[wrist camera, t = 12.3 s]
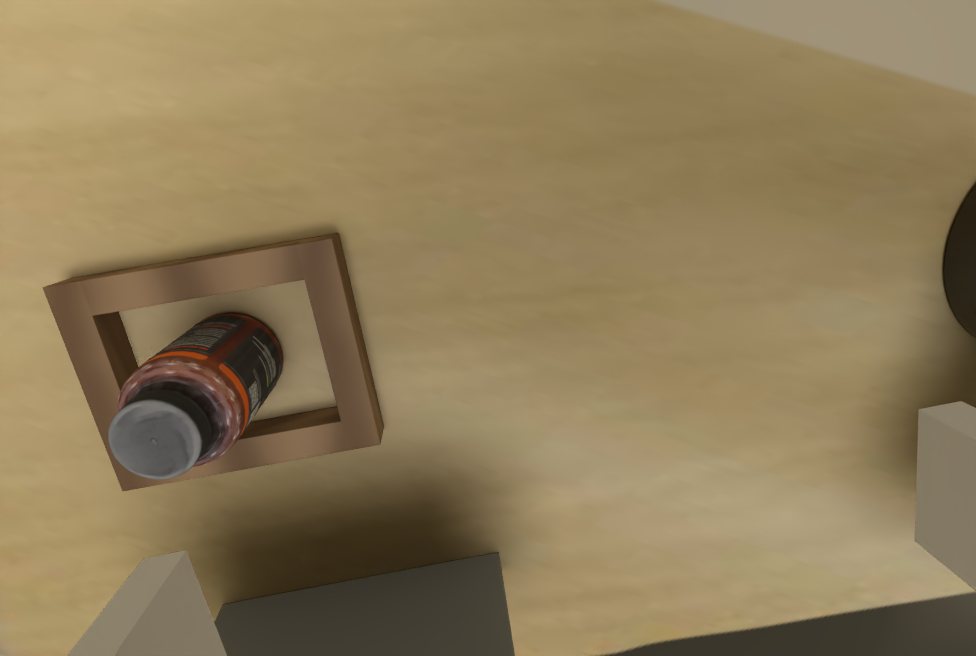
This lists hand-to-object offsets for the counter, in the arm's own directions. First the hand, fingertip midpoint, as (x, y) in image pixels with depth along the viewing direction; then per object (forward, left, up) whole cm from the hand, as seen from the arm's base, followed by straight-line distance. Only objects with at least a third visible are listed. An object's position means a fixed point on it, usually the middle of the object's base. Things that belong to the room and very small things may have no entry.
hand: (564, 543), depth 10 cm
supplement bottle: (+16, +3, -27) cm, 31 cm away
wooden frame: (+16, +3, -27) cm, 31 cm away
